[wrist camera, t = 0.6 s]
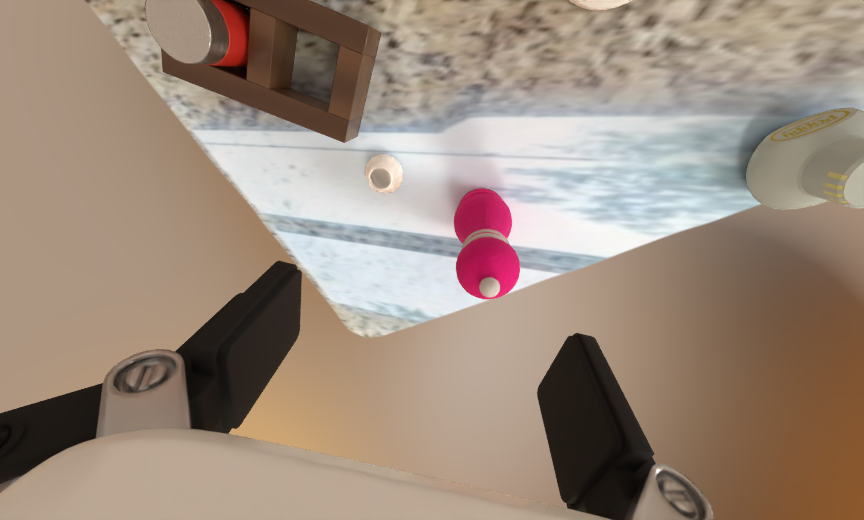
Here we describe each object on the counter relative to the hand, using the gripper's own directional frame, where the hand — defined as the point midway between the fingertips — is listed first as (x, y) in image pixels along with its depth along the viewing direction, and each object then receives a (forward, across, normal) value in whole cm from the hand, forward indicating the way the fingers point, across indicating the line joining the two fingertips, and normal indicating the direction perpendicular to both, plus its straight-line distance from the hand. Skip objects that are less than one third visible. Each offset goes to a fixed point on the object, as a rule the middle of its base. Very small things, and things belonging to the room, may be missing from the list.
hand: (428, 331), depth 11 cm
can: (+34, +27, -6) cm, 44 cm away
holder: (+34, +22, -6) cm, 41 cm away
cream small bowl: (+34, +8, +5) cm, 36 cm away
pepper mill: (+34, -6, +7) cm, 36 cm away
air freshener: (+34, -38, -9) cm, 52 cm away
